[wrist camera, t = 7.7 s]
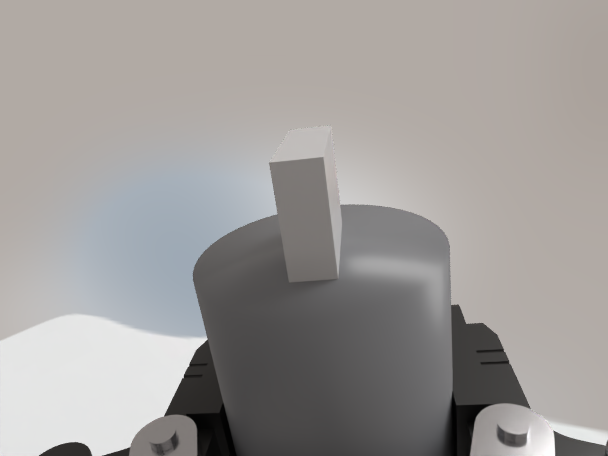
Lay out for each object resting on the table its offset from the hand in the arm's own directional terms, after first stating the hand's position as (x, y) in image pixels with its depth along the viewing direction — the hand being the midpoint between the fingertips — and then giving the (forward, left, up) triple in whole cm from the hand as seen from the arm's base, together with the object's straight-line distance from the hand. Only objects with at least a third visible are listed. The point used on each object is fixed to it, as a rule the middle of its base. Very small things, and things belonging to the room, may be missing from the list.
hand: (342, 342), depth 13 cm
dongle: (0, -3, -6) cm, 7 cm away
